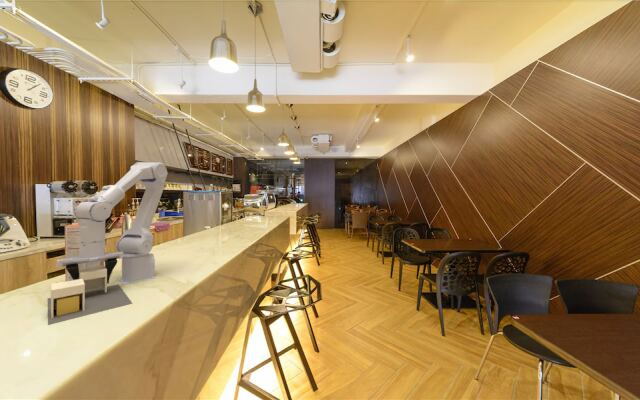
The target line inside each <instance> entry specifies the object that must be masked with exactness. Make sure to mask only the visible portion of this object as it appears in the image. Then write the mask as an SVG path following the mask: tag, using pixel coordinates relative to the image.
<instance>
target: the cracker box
mask: <svg viewBox="0 0 640 400" xmlns="http://www.w3.org/2000/svg"><path fill="white" fill-rule="evenodd" d="M76 256H79V224H78V222H76V223H72V224H67V225H65V226H64V259H65V258H70V257H76ZM102 265H104V266H105V260H104V261H97V262H90V263H83V264H78V267H79V269H82V268H88V267H95V266H102ZM64 268H65V271H64V272H65V273H64V274H65V278H64V279H65V282H66V281H72V280H73V279H72V277H71V275H70V274H69V272H68V271H67V269H66V266H64Z"/></svg>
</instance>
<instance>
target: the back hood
mask: <svg viewBox="0 0 640 400" xmlns="http://www.w3.org/2000/svg"><path fill="white" fill-rule="evenodd" d="M78 279H83V281H84V284H85V291H87V290H92V289H97V288H102V287H103V289H104V291H105V292H107V286H108V284H107V269H106V267H105V264H104V265H102V266H95V267H88V268H82V269H79V278H78Z"/></svg>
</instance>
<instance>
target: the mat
mask: <svg viewBox="0 0 640 400" xmlns="http://www.w3.org/2000/svg"><path fill="white" fill-rule="evenodd" d="M132 304H133V302H132V300H131V299H130V298H129V297H128V295H127V294H126V293H125V291H124V289H122V287H121V286H120V284H113V285H107V292H105V291H104V289H103V287H102V288H97V289H92V290H87V291H85V311H83V310H82V307H81V304H80V305H79V311H75V312H71V313H67V314H63V315H59V316H57V312H56V310H53V318H52V319H51V297H48V298H47V326H51V325H53V324H59V323H62V322H66V321H70V320H74V319H77V318H82V317H86V316H89V315H93V314H97V313H101V312H105V311H109V310H112V309H116V308H121V307H125V306H128V305H132Z"/></svg>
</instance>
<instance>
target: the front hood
mask: <svg viewBox="0 0 640 400" xmlns="http://www.w3.org/2000/svg"><path fill="white" fill-rule="evenodd" d="M75 294H79V305H80V304H81V307H82V310H83V311H85V284H84V281H83V279H78V280H72V281H66V280H65V281H61V282H60V281H59V282H55V283H50V298H51V319H52V318H53V310H56V298H60V297H65V296H70V295H75Z"/></svg>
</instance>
